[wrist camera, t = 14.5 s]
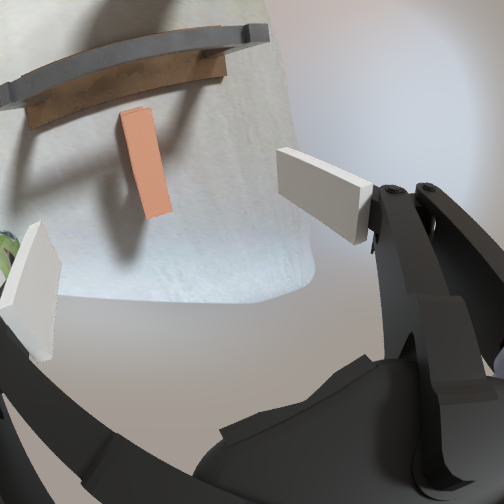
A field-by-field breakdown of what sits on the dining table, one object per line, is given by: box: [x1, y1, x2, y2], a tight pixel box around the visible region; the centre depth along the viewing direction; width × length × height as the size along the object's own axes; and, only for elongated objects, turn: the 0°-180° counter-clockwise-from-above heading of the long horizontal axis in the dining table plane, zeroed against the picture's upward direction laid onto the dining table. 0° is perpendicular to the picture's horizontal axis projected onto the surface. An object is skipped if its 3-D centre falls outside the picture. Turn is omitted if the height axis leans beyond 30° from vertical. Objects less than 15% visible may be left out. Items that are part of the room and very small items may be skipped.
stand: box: [0, 24, 270, 130], centre depth 24 cm, size 28×8×16 cm, turn 98°
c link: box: [120, 107, 172, 219], centre depth 33 cm, size 3×12×12 cm, turn 8°
